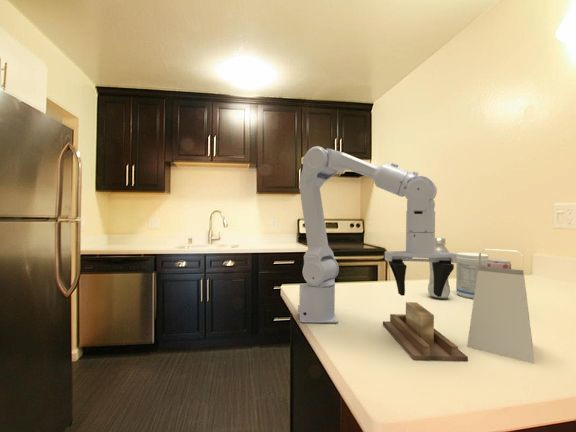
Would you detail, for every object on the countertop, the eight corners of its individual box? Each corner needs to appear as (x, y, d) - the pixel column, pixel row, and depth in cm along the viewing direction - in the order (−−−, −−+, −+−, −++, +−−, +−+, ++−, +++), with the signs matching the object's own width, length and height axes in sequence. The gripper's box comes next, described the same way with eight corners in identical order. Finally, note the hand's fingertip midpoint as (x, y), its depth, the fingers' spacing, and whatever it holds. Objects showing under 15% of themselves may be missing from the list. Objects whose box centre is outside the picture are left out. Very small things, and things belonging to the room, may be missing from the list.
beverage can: (500, 315, 80) (500, 261, 80) (481, 309, 85) (482, 258, 85) (516, 314, 81) (516, 260, 81) (496, 308, 87) (496, 258, 87)
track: (413, 360, 54) (413, 345, 54) (382, 324, 72) (382, 314, 72) (467, 361, 54) (467, 346, 54) (423, 325, 72) (423, 314, 72)
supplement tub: (462, 291, 107) (462, 251, 107) (492, 297, 100) (493, 254, 100) (451, 295, 101) (451, 253, 101) (483, 301, 94) (483, 256, 94)
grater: (474, 332, 68) (474, 246, 68) (532, 344, 61) (533, 250, 61) (467, 346, 60) (467, 249, 60) (533, 363, 53) (534, 254, 53)
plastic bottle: (453, 301, 94) (453, 239, 94) (430, 299, 95) (431, 238, 95) (446, 296, 100) (446, 238, 100) (425, 294, 101) (425, 237, 101)
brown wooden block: (420, 344, 59) (420, 314, 59) (405, 327, 68) (405, 302, 68) (433, 345, 58) (434, 315, 58) (416, 328, 67) (417, 302, 67)
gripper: (445, 232, 66) (445, 291, 66) (381, 230, 67) (380, 289, 67) (462, 233, 59) (461, 300, 59) (390, 232, 60) (389, 297, 60)
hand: (419, 295), depth 63 cm, fingers open, 7 cm apart
